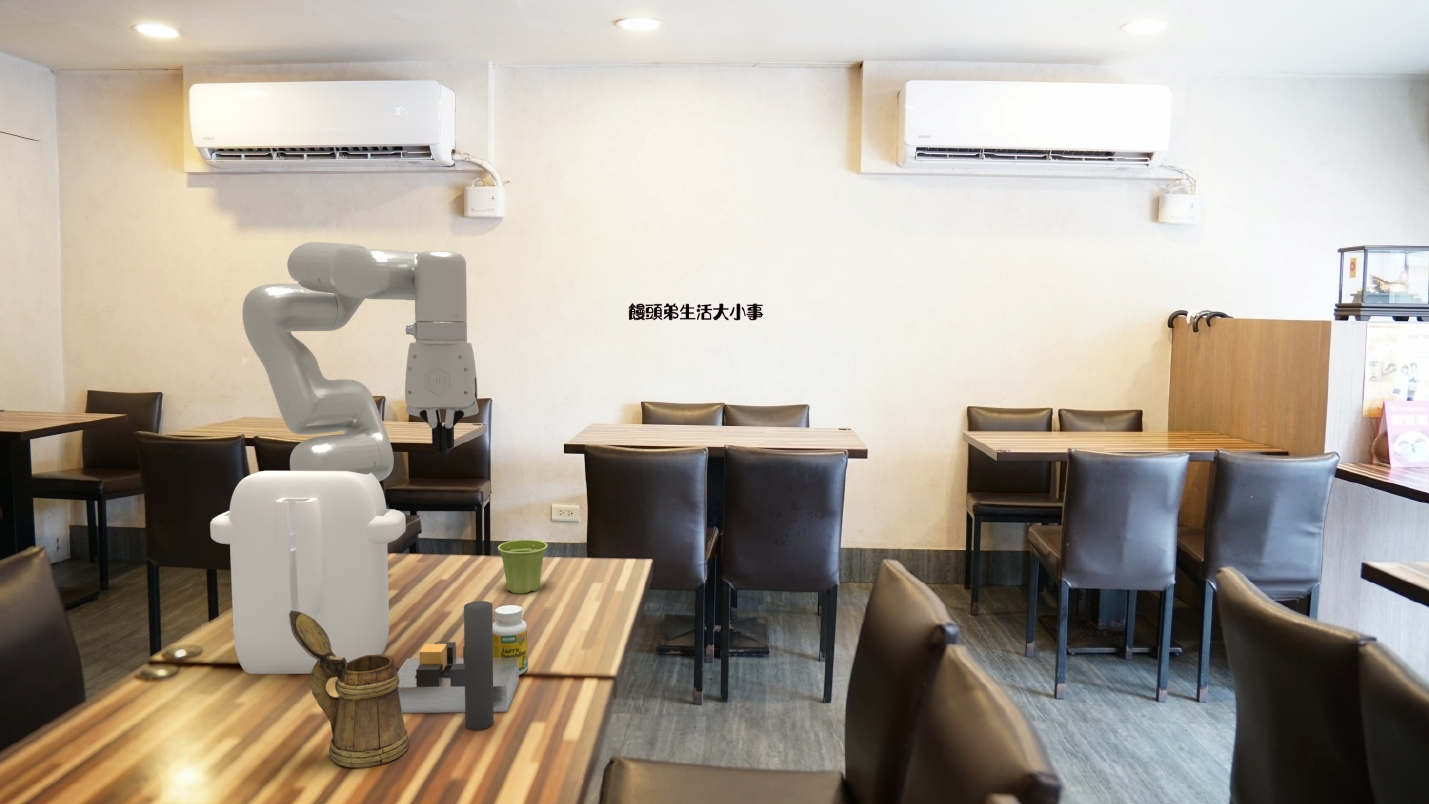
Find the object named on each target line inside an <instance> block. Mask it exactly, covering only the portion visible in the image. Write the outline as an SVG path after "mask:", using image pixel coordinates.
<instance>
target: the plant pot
mask: <svg viewBox="0 0 1429 804" xmlns="http://www.w3.org/2000/svg"><path fill="white" fill-rule="evenodd" d="M548 546H549V545H548V543H547V542H545V541H542V540H536V539H516V540H515V539H514V540H511V541H506V542H503V543H501V544H500V543H499V545H498V546H497V550H498V552H500V553H499V554H500V557H501V559H502V564H503V570H504V576H505V577H504V578H505V584H506V588H507V591H510V592H511V593H513V594H522V595H523V594H528V593H529V592H537V590H539V589H540V584H541V576H542V569H543V561H544V556H545V555H546V550H547V549H548Z"/></svg>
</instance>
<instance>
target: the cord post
mask: <svg viewBox="0 0 1429 804" xmlns="http://www.w3.org/2000/svg"><path fill="white" fill-rule="evenodd" d="M493 612H494V611H493V603H492V602H489V601H485V600H478V601H471V602H468V603H467V602H466V603H465V604H464V606H463V642H464V643H463V647H464V662H465V712H464V713H465V715H464V717H465V718H464V719H465V721H464V722H465V724H464V726H465V729H468V730H471V731H482V730H486V729H489V728H491V727H492V726H494V724H495V723H494V719H495V718H494V717H495V716H494V713H495V712H494V709H493V623H494V622H493V621H494V620H493V618H494V617H493V615H494V614H493Z"/></svg>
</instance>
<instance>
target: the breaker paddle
mask: <svg viewBox="0 0 1429 804" xmlns="http://www.w3.org/2000/svg"><path fill="white" fill-rule="evenodd" d="M418 654H419V658H418V659H419V660H420V664H443V670H444V668H445V667H446V665H447V644H434V643H425V644H424V645H423V646H422V647H421V649H420V651H419V652H418Z"/></svg>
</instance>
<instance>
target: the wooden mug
mask: <svg viewBox="0 0 1429 804" xmlns="http://www.w3.org/2000/svg"><path fill="white" fill-rule="evenodd" d="M289 620H290V625H291V630H292V633H293V636H294V637H295V639H296V640H297V642H298V643H299V644H300V645H301V647H302V648H303V649H304V650H305V651H306V652H307V653H308V654H309V655H310V656H311V657H313V658H315V659H316V660H317V662H316V664H315V665H314V667H313V669H312V672H311V674H310V681H309V685H310V690H311V695H313V697H314V700H315V701H316V703H317V704H318V707H320V709H321V710H322V711H323V712H324V714H325V716H326V718H327V719H328V721H329V724H330V728H331V732H332V737H331V739H330V743H329V748H328V752H329V757H330V758H331V760H332V761H333V762H334V763H335V764H336V765H338V766H340V767H345V768H352V769H354V768H355V769H364V768H371V767H375V766H380V765H383V764H387V763H388V762H391V761H393V760H396V759H398V758H400V757H401V756H403V755H404V754H405V753H406V752H407V750H408V749H409V747H410V739H409V736H408V730H407V729H406V728H405V726H406V725H405V721H404V716H403V715H404V714H403V713H402V709H401V703H400V697H399V691H398V685H399V682H400V681H399V676H398V670H397V668H396V667H395V660H394V658H393V656H391V655H387V654H382V655H380V654H377V655H366V656H362V657H359V658H357V659H354V660H352V661H350V662H348V663H347V661H346V659H345V658H343V657H336V655H335V654H334V653H333V652H332V650H331V643H330V641H329V638H328V636H327V634H326V632H325V631H324V630H323V628H322V627H321V626H320V625H319V624H318V623H317V622H316V621H315V620H314V619H313V618H311V617H310V616H308V615H306V614H304V613H301V612H297V611H292V610H291V611H290V613H289ZM333 678H337V680H336V681H335V684H334V689H335V692H336V693H337V695H338V696H337V697H336V696H333V695H330V694H329V692H328V690H327V688H326V687H327V686H326V685H327V684H328V682H329V680H331V679H333Z"/></svg>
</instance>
